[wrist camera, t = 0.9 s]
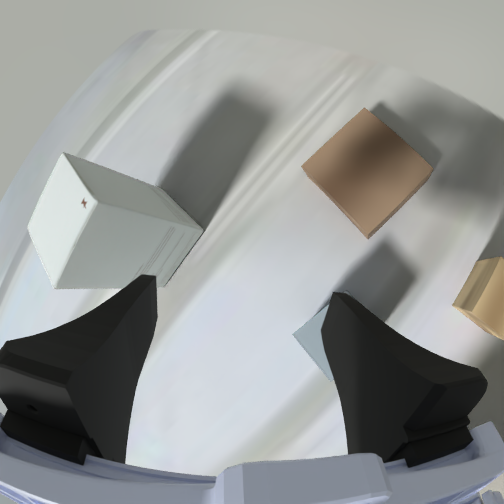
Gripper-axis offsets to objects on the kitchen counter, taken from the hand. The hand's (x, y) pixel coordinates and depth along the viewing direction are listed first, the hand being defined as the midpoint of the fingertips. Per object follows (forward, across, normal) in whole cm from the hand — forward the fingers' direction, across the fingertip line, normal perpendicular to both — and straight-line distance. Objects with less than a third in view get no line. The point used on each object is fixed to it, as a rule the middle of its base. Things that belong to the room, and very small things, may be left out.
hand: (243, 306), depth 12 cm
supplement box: (+18, +7, +5) cm, 20 cm away
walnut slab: (+12, -10, -4) cm, 16 cm away
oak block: (+4, -19, +1) cm, 19 cm away
